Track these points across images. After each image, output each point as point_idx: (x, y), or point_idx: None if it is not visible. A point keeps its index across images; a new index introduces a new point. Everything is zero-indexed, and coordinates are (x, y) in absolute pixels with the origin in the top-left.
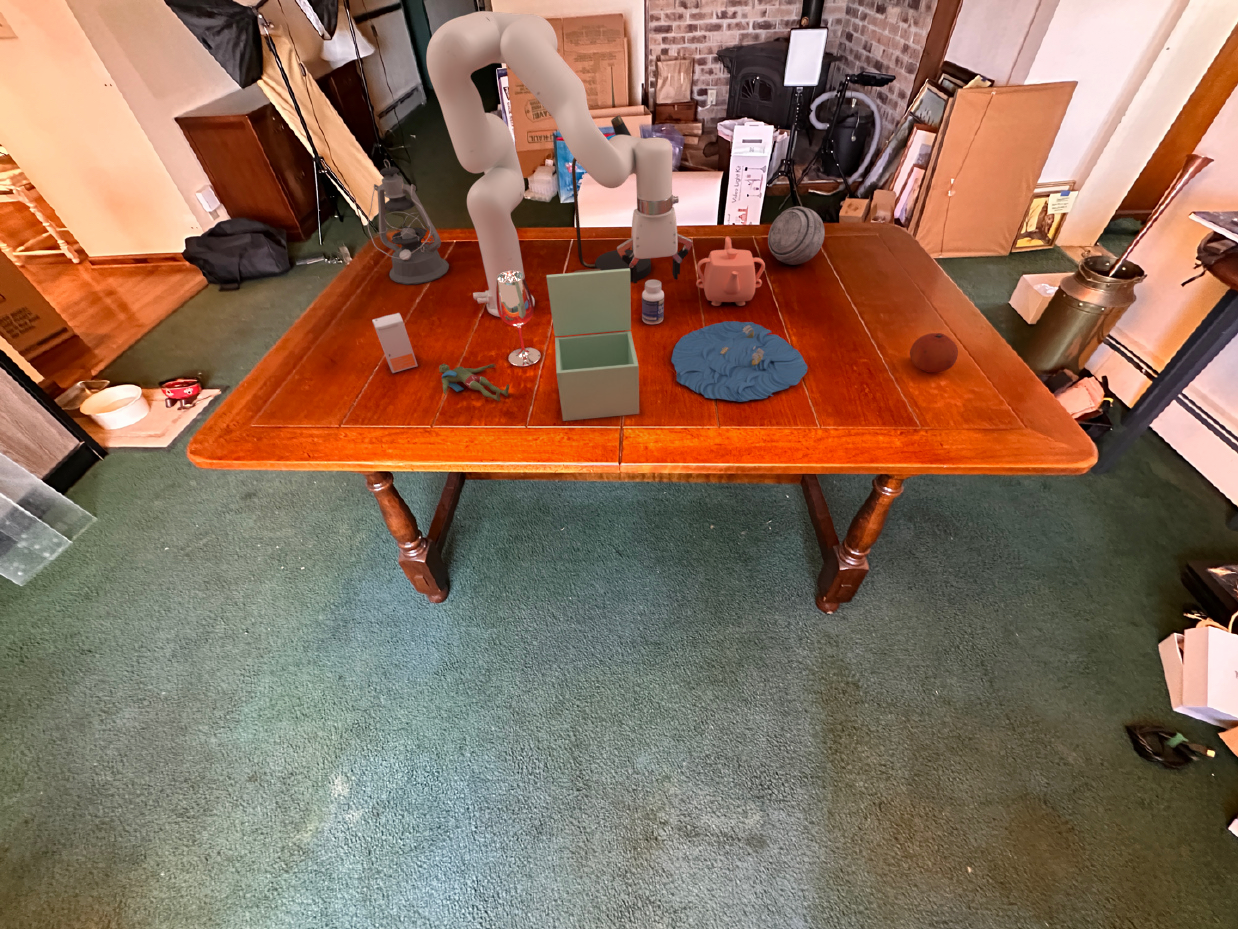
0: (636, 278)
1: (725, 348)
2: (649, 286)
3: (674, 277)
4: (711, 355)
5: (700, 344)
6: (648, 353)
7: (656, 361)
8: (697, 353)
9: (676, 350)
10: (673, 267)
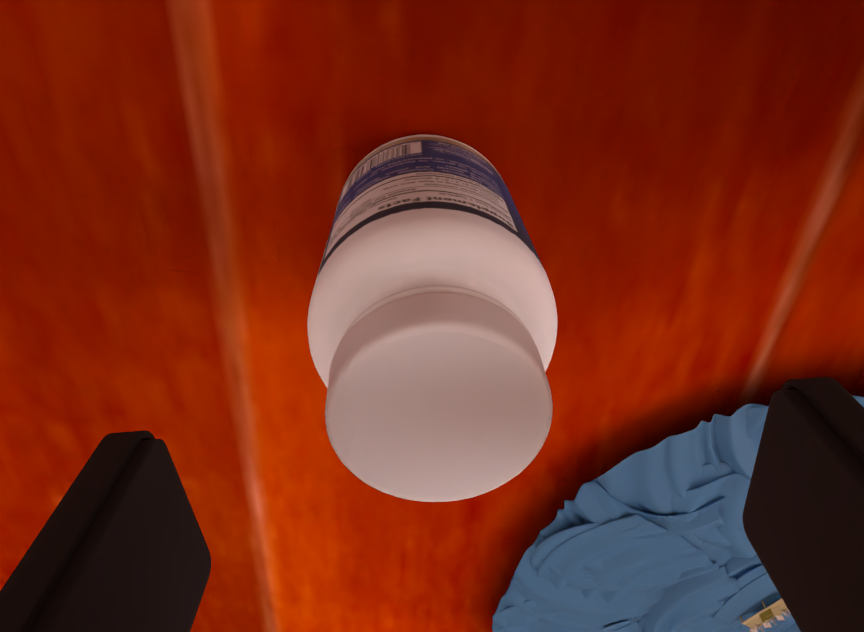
0: (182, 629)
1: (783, 602)
2: (386, 490)
3: (754, 538)
4: (692, 622)
5: (670, 568)
6: (383, 542)
7: (421, 590)
8: (630, 611)
9: (531, 579)
10: (844, 576)
